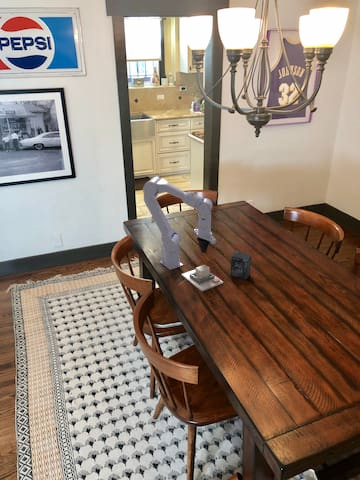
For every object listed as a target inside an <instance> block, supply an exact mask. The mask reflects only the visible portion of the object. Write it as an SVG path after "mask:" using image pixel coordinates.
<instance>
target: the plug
mask: <svg viewBox="0 0 360 480" xmlns="http://www.w3.org/2000/svg"><path fill="white" fill-rule="evenodd" d="M195 269H196V276H197V277H198V278H200V279H203V278H205V277H208V276H210V273H211V271H210V269H211V268H210V267H209V266H207V265H206V264H202V265H200V266H197V267H195Z"/></svg>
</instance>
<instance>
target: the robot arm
mask: <svg viewBox="0 0 360 480" xmlns="http://www.w3.org/2000/svg"><path fill="white" fill-rule="evenodd" d="M142 191H143V202H144V203H145V206H146V207H147V209H148V211H149V213H150V215H151V217H152V219H153V221H154V222H155V224H156V226H157V228H158V229H159V231H160V233H161V242H162V244H163V245H162V248H161V251H160V252H161V260H160V263H161V265H163V266H165V268H166V269H168V270H169V271H171V270H174V269H177V268H180V267H183V266H184V263H182V262H181V259H180V258H181V257H180V256H181V255H180V254H181V248H180V244H179V243H181V241H182V237H181V235H180V234H179V232H177V231H176V229H174V228H172V227H171V224H170V222H169V221H168V218H167V217H166V215H165V213H164V211H163V209H162V207H161V206H160V204H159V201H158V200H157V199H158V195H159V194H163V193H167V194H169V195H172V196H174V197H176V198H178V199H181V201H182V202H183V203H184V204H185V205H187V206H189V207H191V208H192V209H195V210H197V213H198V225H197V228H194V229H193V234H194V235H195V234H196V236H197V237H196V241H197V242H198V244H199V249H200V252H201V253H203V254H204V253H207V251H208V247H209V245H210V244H211V245H215V244H216V243H217V239H216V238H215V237H214V236H213V233H212V231H211V228H212V208H213V206H214V205H213V202H212V200H211V199H209V198H208V197H206V198H205V197H201V196H199V195H197V194H195V192H194V191H187V192H185V191H184V190H183V189H180V188H178V187H177V186H175V185H174V184H172V183H170V182H168V181H167V180H166V179H165V178H162V177H160V176H159V175H157V176H153V177H152V178H151V179H150V180H148V181H147V182H145V183H144V185H143V188H142Z"/></svg>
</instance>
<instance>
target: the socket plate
mask: <svg viewBox="0 0 360 480" xmlns="http://www.w3.org/2000/svg"><path fill="white" fill-rule="evenodd" d="M181 276H182V277H183V278H184V279H185V280H186V281H188V282H189V283H190V284H192V286H194V287H196V288H197V289H198V290H199V291H200V292H205V291H207V290H209V289H210V290H211V289H212V288H215V287H217V286H219V285H222V284H224V281H223V280H221V279H220V278H219V277H218V276H216V275H215V274H213V273H211V272H210V276H208V277H205V278H203V279H200V278H198V277H197V276H196V268H195V269H193V270H189V271H187V272H183V273H181Z"/></svg>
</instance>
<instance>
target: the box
mask: <svg viewBox="0 0 360 480" xmlns="http://www.w3.org/2000/svg"><path fill="white" fill-rule="evenodd" d="M230 263H231V264H230V271H229V272H230V274H229V276H231V277H235V278H238V279H242V280H247V279H248V278H249V275H250V273H251V266H252V265H251V264H252V255H251V254H246V253H243V252H239V251H234V253H233V254H232V255H231V259H230Z"/></svg>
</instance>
